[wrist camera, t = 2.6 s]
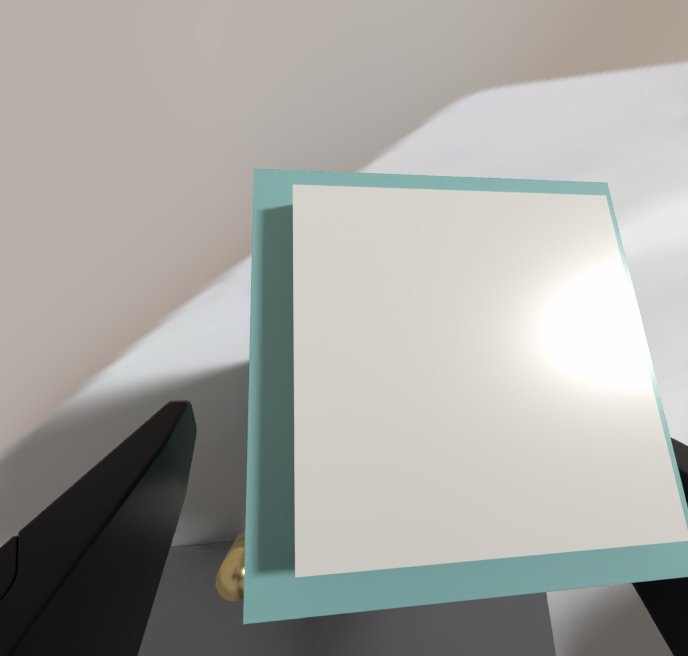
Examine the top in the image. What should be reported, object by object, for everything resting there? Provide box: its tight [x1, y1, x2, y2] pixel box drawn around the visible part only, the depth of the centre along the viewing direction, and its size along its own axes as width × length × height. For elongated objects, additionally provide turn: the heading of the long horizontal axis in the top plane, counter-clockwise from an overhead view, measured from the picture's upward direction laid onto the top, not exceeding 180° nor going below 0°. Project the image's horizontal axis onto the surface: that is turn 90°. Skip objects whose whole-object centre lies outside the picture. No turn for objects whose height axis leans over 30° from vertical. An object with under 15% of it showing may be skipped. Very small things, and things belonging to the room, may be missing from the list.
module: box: [243, 169, 688, 624], centre depth 10 cm, size 5×5×13 cm
